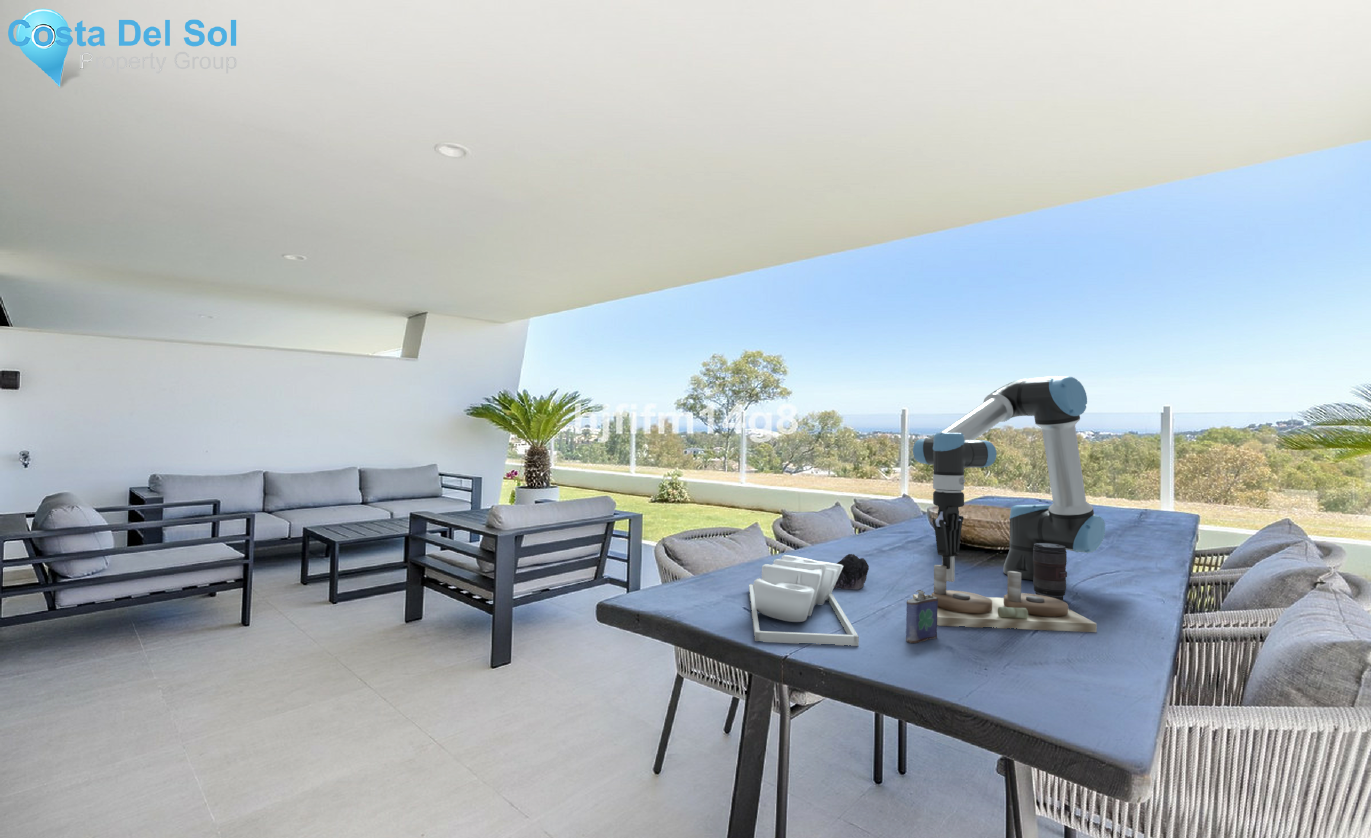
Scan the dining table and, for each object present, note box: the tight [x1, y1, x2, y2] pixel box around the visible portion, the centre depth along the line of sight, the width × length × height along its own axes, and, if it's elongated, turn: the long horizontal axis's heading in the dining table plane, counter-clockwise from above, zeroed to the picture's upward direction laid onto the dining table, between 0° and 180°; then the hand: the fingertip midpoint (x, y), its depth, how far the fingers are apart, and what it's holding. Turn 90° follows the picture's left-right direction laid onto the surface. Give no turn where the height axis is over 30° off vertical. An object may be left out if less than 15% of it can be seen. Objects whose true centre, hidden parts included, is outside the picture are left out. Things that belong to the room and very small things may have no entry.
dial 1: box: [931, 564, 992, 613], centre depth 154 cm, size 14×14×9 cm
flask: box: [905, 589, 938, 644], centre depth 135 cm, size 9×3×11 cm, turn 121°
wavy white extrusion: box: [753, 554, 843, 623], centre depth 155 cm, size 35×16×10 cm, turn 149°
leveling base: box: [912, 593, 1098, 633], centre depth 153 cm, size 36×20×4 cm, turn 86°
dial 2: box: [1003, 571, 1069, 616], centre depth 152 cm, size 14×14×9 cm
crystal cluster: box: [834, 553, 870, 590], centre depth 181 cm, size 13×14×10 cm
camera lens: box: [1032, 543, 1068, 601], centre depth 170 cm, size 8×8×15 cm
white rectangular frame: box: [748, 583, 860, 647], centre depth 151 cm, size 22×41×2 cm, turn 176°
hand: (948, 580), depth 160 cm, fingers closed
